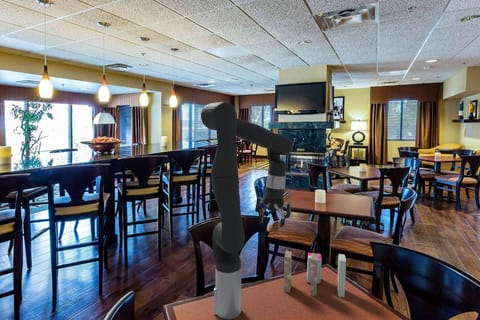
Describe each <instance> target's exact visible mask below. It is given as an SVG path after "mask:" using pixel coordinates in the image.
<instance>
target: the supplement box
mask: <svg viewBox="0 0 480 320" xmlns="http://www.w3.org/2000/svg"><path fill="white" fill-rule="evenodd" d="M312 253H313V254H316V253H314V252H308V253H307V265H306V284H310V285H311V255H312ZM317 254H318V264H317V285H321V279H322V278H321V277H322V263H323V262H322V260H323V259H322V254H321V253H317Z"/></svg>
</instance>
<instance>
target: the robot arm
mask: <svg viewBox="0 0 480 320" xmlns="http://www.w3.org/2000/svg"><path fill="white" fill-rule="evenodd" d="M200 120H201V122H202V125H204V126H205V128H207V129H208V130H211V131H215V132H216V137H217V138H216V143H217V146H216V152H215V154H214V158H213V161H212V165H211V168H210V178H211V187H212V192H213V196H214V199H215V202H216V205H217V208H218V211H219V214H220V220H221V221H220V222H219V223H217V224H216V226H215V227H214V229H213V232H212V256H213V260H214V264H215V267H214V268H215V287H214V289H213V315H215V316H217V317H218V318H220V319H224V320H232V319H236V318H237V317H239V316H240V315H241V313H242V260H241V257H240V255H239V252H240V251H241V250H242V249H243V247H244V244H245V240H246V238H245V237H246V235H245V229H244V224H243V218H242V212H241V210H242V209H241V198H240V181H239V179H240V178H239V169H238V166H239V165H238V149H237V146H238V145H237V141H238V140H237V139H238V138H240V139H242V140H244V141H246V142H249V143H251V144H253V145H255V146H258V147H261V148H263V149H266V153H267V162H268V171H267V177H266V184H265V190H264V191H265V192H264V193H265V194H264V198H263V197H261V196H259V197H257V198H256V203H255V207H254V211H255V213H258V222H259V223H260V224H263V222H264V216H265V211H267V210H268V211H272V212H275V213H276V212H277V214H279V216H280V224H279V227H280V228H281V229H282V228H283V227H284V226H285V223H286V219H289V218H290V217H291V216H292V215H291V210H292V203H291V202H290V201H289V202H285V201H284V199H285V198H284V197H285V189H286V188H285V187H286V174H287V162H286V161H285V160H283V159H282V157H281V156H288V155H289V154H291V153H292V152H293V148H294V142H292V140H291V138H289V137H287V136H285V135H282V134H280V133H275V132H272V130H269V129H267V128H266V127H263V126H261V125H259V124H258V123H257V124H256V123H254V122H250V121H246V120H243V119H240V118H238V114H237V110H236V108H235V106H234V105H233V104H232V103H231V102H229V101H219V102H218V101H216V102H211V103H207V104H206V105H204V106H203V108H202V109H201V111H200ZM262 203H263V204H264V207H262V209H261V204H262ZM283 206H284V208H285V209H286V211H284V209H283Z"/></svg>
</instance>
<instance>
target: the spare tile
mask: <svg viewBox="0 0 480 320" xmlns="http://www.w3.org/2000/svg"><path fill="white" fill-rule="evenodd" d="M337 258H338V259H337V260H338V261H337V279H336V280H337V281H336V282H337V284H336V291H337V297H340V298H345V293H346V291H345V290H346V289H345V288H346V274H347V273H346V271H347V268H346V267H347V258H346V255H345V254H342V253H338V256H337Z"/></svg>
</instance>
